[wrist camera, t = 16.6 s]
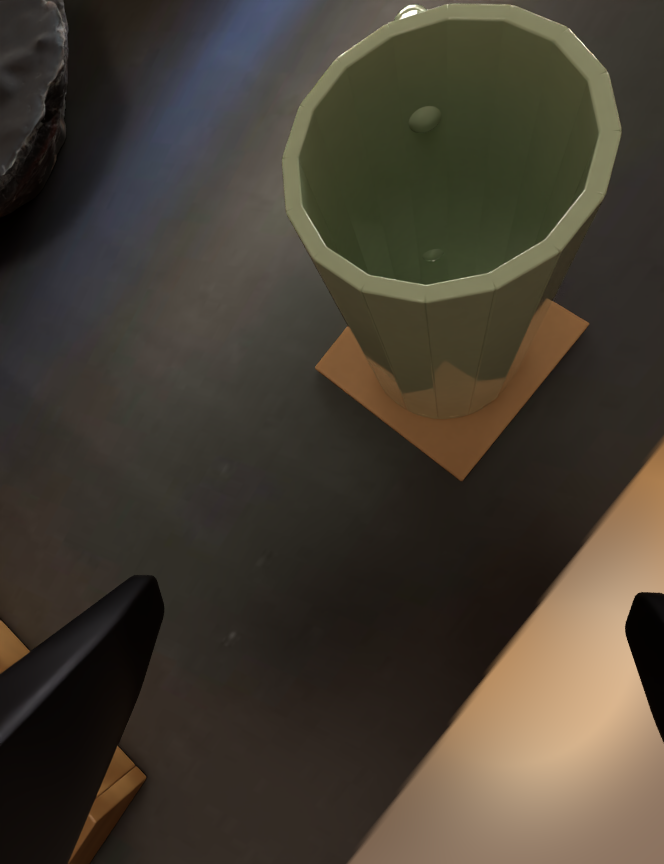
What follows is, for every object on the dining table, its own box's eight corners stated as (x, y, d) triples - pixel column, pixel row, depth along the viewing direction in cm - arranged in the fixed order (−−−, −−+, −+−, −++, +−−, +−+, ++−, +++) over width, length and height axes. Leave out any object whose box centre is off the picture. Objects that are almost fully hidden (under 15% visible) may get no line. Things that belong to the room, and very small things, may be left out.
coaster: (587, 326, 21) (590, 323, 21) (461, 482, 22) (462, 481, 21) (427, 229, 24) (427, 225, 24) (316, 369, 24) (314, 367, 24)
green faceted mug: (531, 408, 21) (653, 260, 9) (379, 428, 22) (294, 327, 10) (497, 208, 23) (556, -155, 10) (358, 239, 24) (264, -46, 12)
